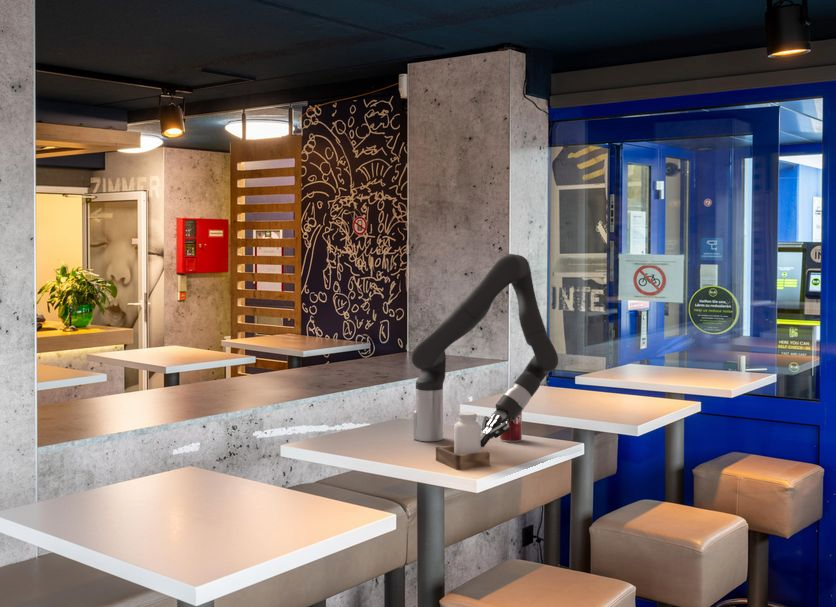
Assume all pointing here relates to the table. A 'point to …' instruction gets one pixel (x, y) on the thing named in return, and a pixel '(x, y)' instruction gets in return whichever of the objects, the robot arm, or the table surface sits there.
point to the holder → (461, 458)
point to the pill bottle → (467, 434)
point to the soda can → (513, 431)
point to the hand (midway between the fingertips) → (479, 445)
